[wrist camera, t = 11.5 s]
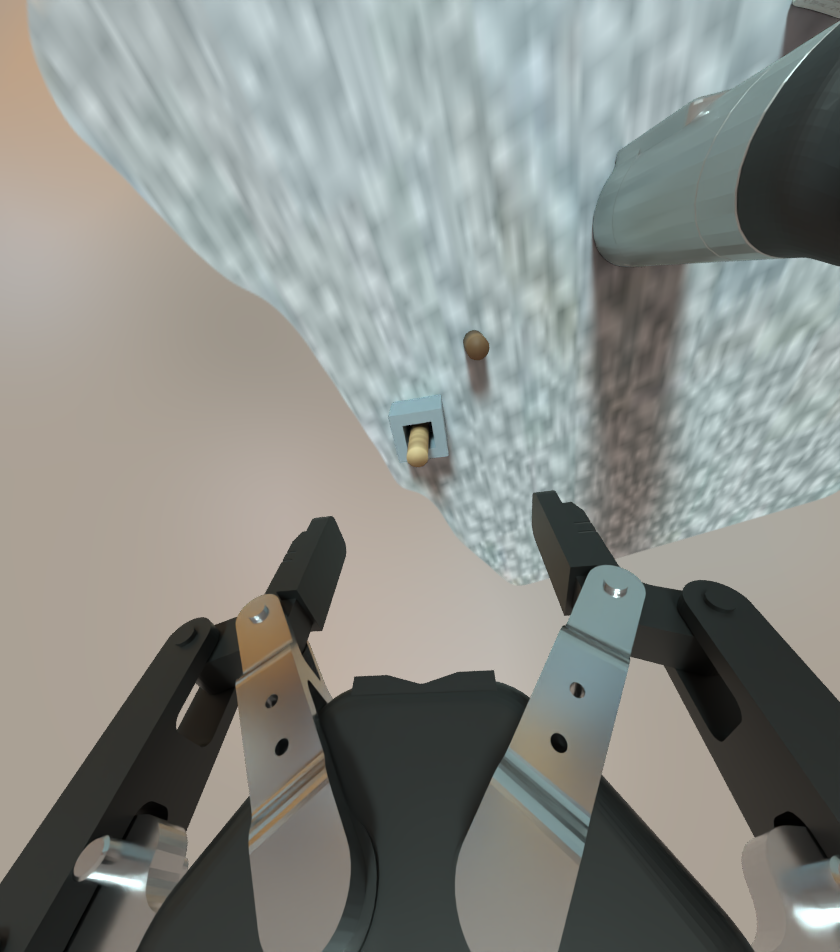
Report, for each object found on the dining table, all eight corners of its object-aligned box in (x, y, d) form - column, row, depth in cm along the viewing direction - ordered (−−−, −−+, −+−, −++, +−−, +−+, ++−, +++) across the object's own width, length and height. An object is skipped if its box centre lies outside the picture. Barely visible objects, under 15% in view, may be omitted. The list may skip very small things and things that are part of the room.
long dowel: (410, 415, 42) (404, 450, 33) (427, 412, 41) (426, 446, 33) (413, 430, 43) (408, 468, 35) (430, 428, 43) (429, 465, 34)
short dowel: (462, 332, 36) (465, 338, 32) (482, 328, 36) (488, 334, 32) (464, 353, 37) (467, 362, 33) (484, 350, 37) (489, 358, 33)
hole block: (392, 402, 41) (388, 416, 37) (440, 394, 40) (441, 408, 36) (402, 445, 44) (399, 462, 40) (447, 438, 43) (448, 455, 39)
